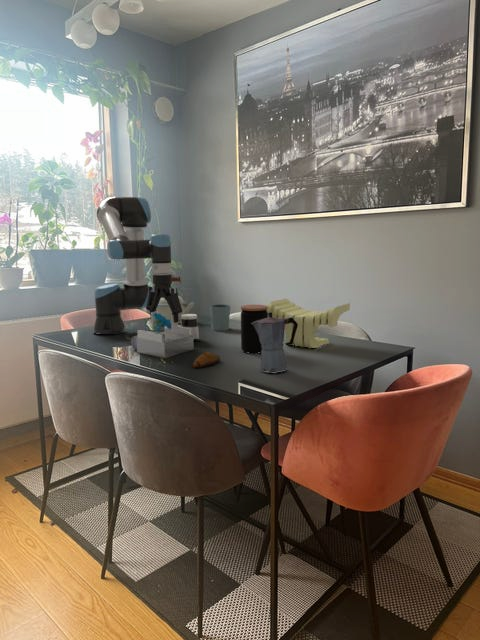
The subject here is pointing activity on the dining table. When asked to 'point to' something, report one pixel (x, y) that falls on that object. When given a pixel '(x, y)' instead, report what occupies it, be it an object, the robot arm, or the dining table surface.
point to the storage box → (163, 342)
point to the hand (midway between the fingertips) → (164, 329)
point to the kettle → (165, 309)
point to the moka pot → (273, 341)
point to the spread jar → (191, 324)
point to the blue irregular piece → (161, 322)
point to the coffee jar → (251, 327)
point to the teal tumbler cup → (220, 317)
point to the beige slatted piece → (305, 321)
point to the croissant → (206, 360)
